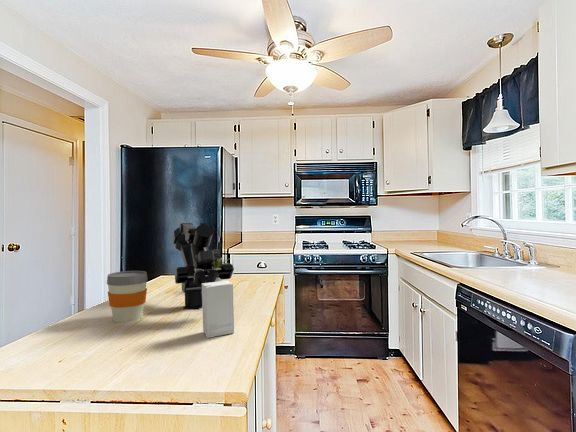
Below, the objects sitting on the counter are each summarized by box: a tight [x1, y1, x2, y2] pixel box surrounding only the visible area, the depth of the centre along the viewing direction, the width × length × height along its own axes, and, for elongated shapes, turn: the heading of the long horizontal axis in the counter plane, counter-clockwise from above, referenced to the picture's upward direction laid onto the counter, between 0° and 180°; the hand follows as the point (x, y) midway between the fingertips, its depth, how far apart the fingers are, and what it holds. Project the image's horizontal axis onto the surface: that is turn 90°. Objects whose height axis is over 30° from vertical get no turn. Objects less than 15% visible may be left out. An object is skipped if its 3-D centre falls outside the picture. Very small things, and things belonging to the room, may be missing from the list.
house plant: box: [212, 257, 232, 282], centre depth 161 cm, size 14×14×16 cm
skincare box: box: [201, 279, 235, 339], centre depth 104 cm, size 8×6×15 cm
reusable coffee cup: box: [106, 270, 149, 323], centre depth 119 cm, size 12×13×15 cm
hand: (209, 294), depth 113 cm, fingers closed
